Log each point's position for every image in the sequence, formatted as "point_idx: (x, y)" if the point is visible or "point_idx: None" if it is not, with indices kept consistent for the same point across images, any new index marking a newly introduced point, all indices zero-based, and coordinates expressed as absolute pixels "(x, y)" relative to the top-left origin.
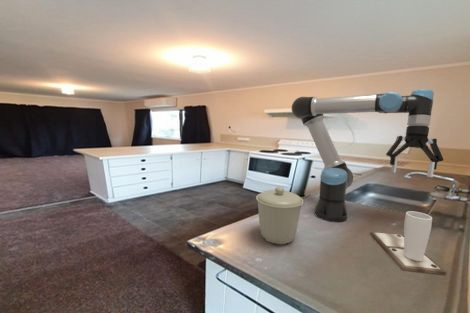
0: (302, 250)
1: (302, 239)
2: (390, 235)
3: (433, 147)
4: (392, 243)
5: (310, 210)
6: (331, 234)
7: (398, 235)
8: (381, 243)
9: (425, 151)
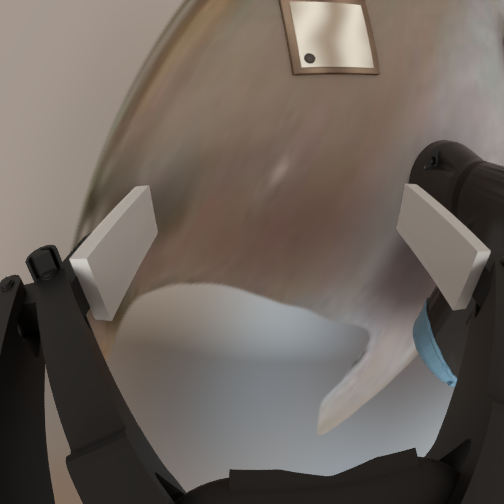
0: (488, 14)
1: (494, 48)
2: (333, 57)
3: (12, 448)
4: (343, 15)
5: None
6: (456, 67)
7: (311, 58)
8: (367, 17)
9: (126, 412)
